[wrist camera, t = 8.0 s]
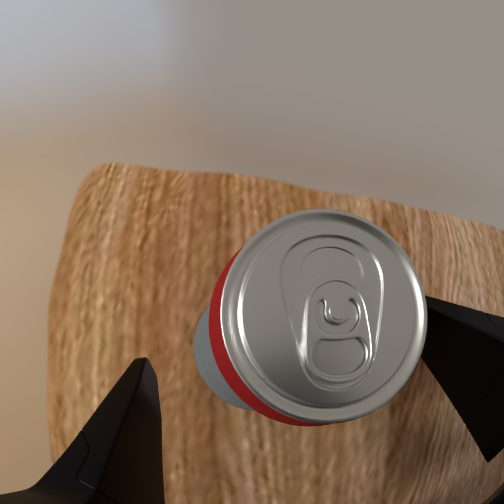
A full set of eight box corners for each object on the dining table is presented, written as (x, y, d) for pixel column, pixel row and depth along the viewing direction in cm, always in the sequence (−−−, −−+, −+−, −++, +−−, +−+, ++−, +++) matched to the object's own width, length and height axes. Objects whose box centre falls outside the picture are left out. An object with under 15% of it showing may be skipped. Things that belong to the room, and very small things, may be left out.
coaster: (343, 365, 17) (347, 365, 16) (236, 430, 15) (236, 433, 14) (280, 264, 19) (282, 260, 18) (173, 321, 17) (171, 320, 17)
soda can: (309, 303, 17) (417, 202, 6) (311, 385, 16) (444, 411, 4) (225, 303, 17) (208, 189, 6) (224, 388, 15) (201, 447, 4)
